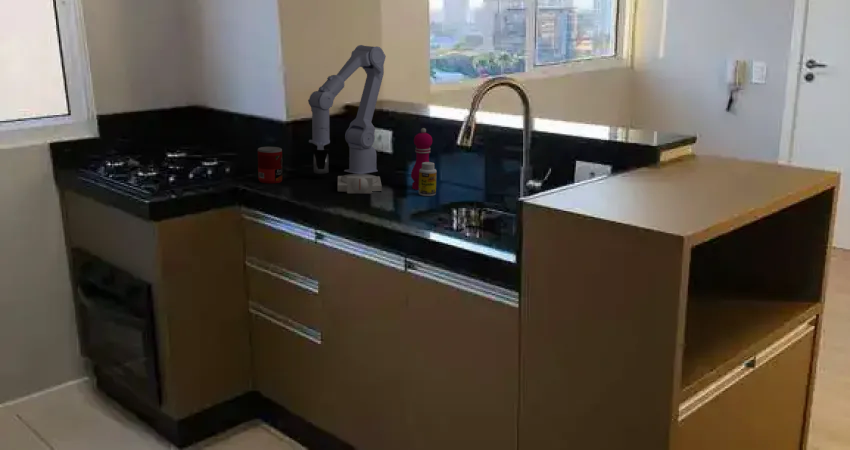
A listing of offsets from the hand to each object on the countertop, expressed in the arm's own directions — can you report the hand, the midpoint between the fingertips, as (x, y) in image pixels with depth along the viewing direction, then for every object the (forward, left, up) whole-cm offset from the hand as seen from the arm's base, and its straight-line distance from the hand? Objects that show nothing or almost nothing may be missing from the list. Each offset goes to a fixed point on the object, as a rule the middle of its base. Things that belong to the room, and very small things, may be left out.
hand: (321, 167), depth 278 cm
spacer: (0, 0, -2) cm, 2 cm away
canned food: (+16, -7, -4) cm, 18 cm away
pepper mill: (-15, +33, -4) cm, 36 cm away
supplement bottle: (-10, +40, -4) cm, 41 cm away
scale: (0, +19, -4) cm, 19 cm away
